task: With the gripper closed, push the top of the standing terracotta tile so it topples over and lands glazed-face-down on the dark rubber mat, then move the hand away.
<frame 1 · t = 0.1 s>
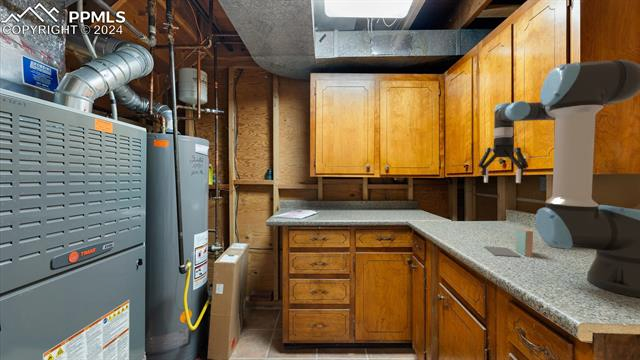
hand: (501, 182, 128), 28 cm above the counter, tool pointing down, fingers open, 13 cm apart
soda can: (557, 247, 121), on the counter
mat: (501, 251, 112), on the counter
tile: (523, 253, 111), on the counter
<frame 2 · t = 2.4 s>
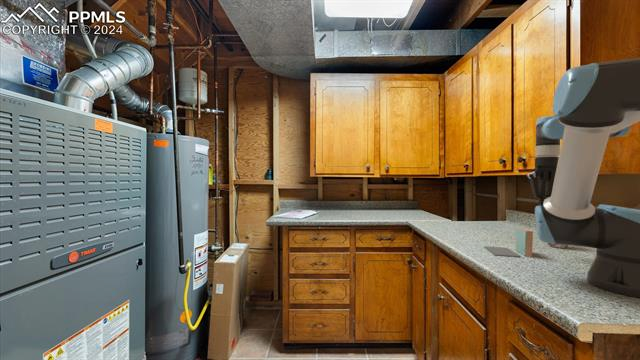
hand: (544, 215, 109), 16 cm above the counter, tool pointing down, fingers closed
nothing on the counter moved.
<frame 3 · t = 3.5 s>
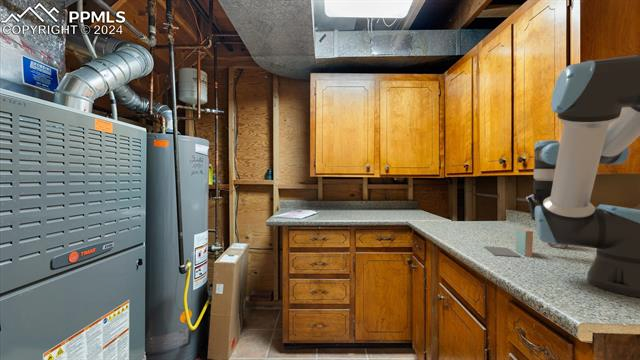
hand: (543, 238, 109), 6 cm above the counter, tool pointing down, fingers closed
nothing on the counter moved.
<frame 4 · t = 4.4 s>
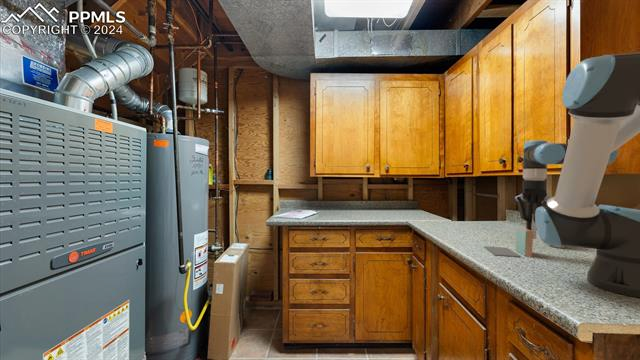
hand: (532, 237, 110), 6 cm above the counter, tool pointing down, fingers closed
tile: (523, 253, 111), on the counter, touching gripper
everything else where it was.
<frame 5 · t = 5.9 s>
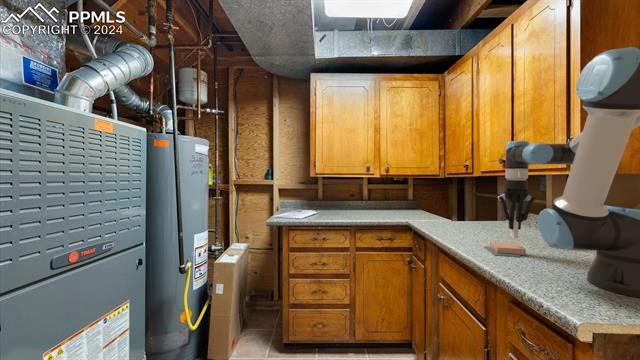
hand: (514, 237, 111), 6 cm above the counter, tool pointing down, fingers closed
tile: (520, 249, 111), point 2 cm above the counter, tilted 90°, touching mat
everything else where it was.
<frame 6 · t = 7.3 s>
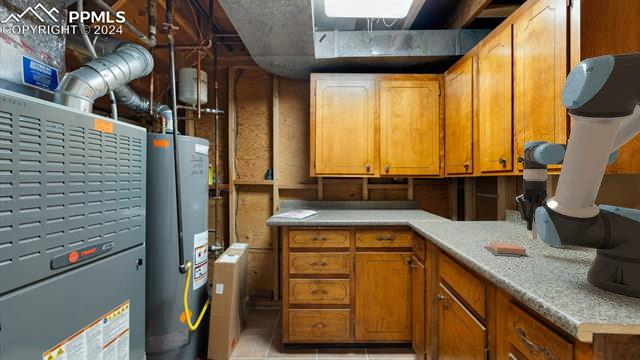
hand: (532, 238, 109), 6 cm above the counter, tool pointing down, fingers closed
nothing on the counter moved.
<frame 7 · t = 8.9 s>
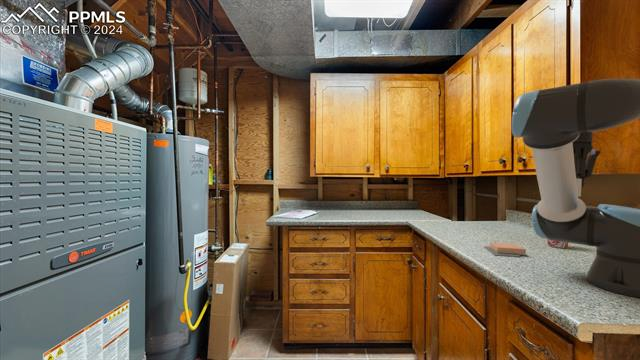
hand: (575, 196, 101), 24 cm above the counter, tool pointing down, fingers closed
nothing on the counter moved.
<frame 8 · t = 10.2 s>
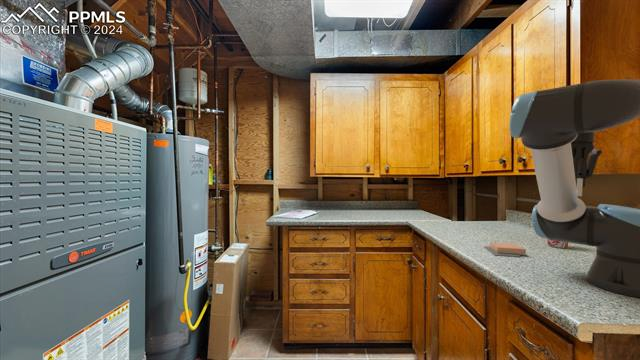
hand: (577, 195, 101), 24 cm above the counter, tool pointing down, fingers closed
nothing on the counter moved.
at the end: tile tilted 90°; tile inside the target area (5.5 cm from its centre), point 1.6 cm above the counter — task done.
